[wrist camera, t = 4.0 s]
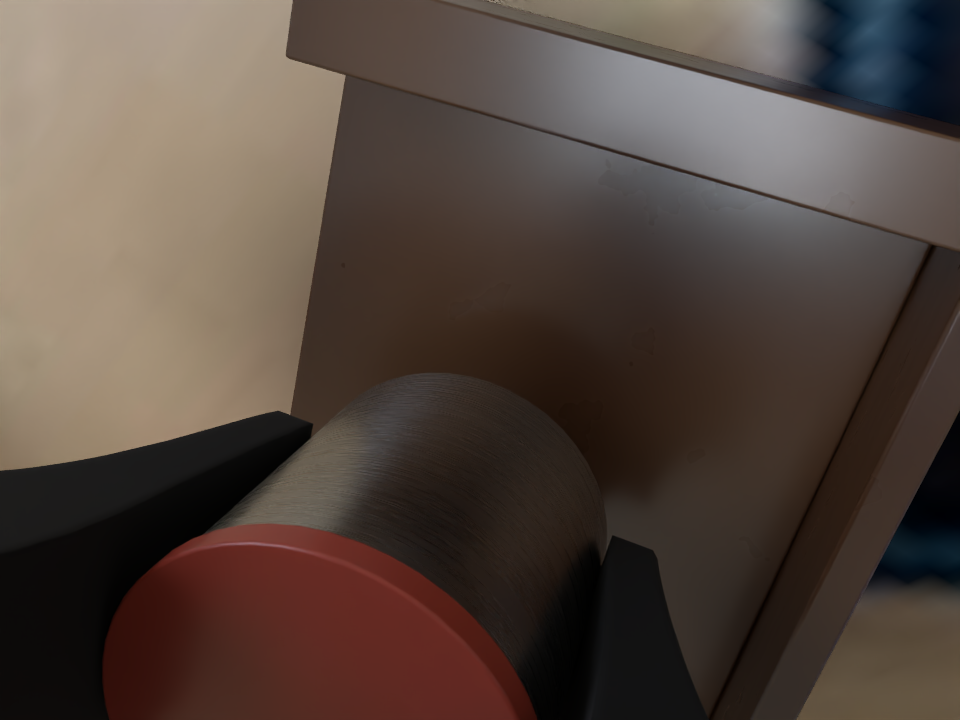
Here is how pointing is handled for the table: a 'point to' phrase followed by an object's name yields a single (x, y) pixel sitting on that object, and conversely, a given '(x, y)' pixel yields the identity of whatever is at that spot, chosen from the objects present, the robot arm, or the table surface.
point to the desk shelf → (652, 298)
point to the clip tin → (379, 574)
